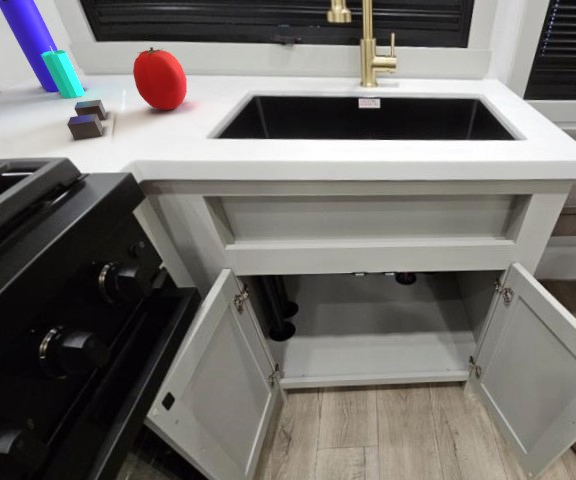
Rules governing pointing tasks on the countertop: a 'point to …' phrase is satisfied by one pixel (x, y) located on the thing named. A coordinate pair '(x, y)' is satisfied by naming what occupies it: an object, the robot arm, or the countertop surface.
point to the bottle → (31, 37)
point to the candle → (63, 73)
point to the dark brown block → (91, 108)
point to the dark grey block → (85, 126)
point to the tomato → (160, 79)
